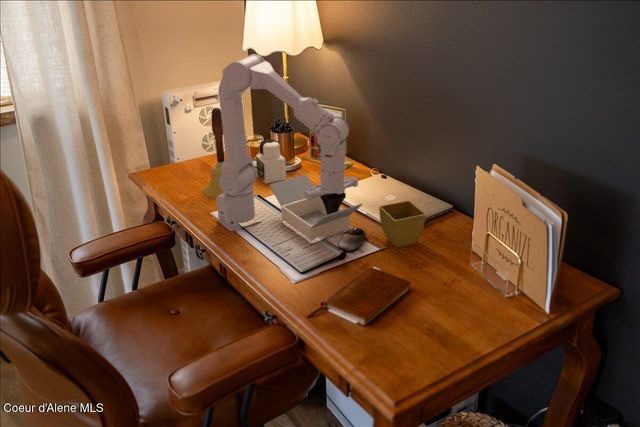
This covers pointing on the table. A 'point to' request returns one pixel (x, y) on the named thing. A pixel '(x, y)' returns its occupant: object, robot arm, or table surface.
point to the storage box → (312, 218)
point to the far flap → (291, 189)
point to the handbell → (214, 186)
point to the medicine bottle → (270, 162)
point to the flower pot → (402, 222)
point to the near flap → (336, 215)
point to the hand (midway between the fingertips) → (331, 218)
